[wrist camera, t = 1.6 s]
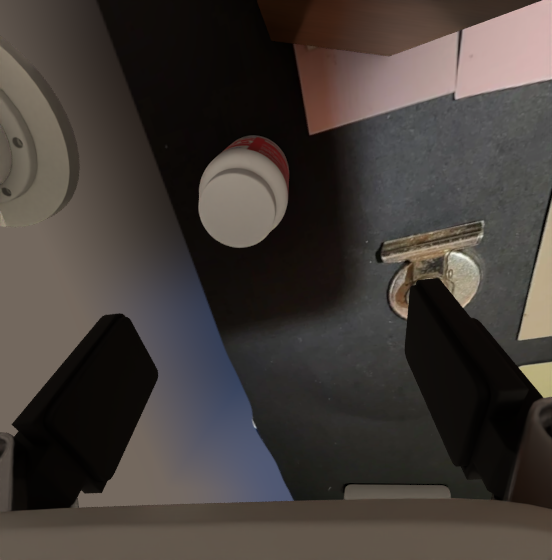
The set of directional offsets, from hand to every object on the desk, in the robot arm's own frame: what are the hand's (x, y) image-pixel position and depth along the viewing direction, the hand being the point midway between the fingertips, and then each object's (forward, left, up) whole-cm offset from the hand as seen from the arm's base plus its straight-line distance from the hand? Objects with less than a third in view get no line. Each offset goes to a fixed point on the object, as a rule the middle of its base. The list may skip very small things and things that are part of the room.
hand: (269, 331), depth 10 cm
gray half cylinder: (+28, -56, -21) cm, 66 cm away
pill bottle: (-3, 0, -21) cm, 21 cm away
